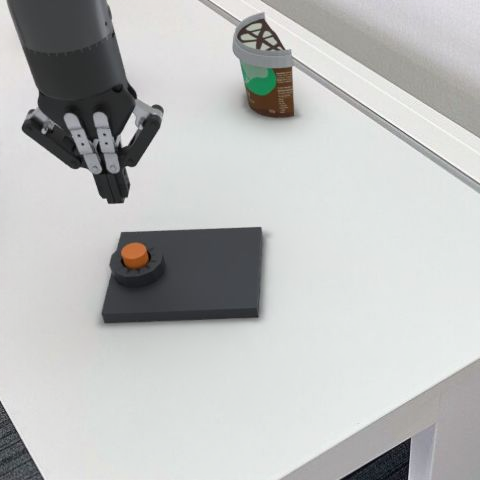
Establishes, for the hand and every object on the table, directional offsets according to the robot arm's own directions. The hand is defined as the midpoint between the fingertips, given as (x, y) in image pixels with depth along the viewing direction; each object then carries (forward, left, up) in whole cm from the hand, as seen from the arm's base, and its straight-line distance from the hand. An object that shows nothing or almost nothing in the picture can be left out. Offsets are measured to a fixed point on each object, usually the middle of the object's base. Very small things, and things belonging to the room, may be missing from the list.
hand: (118, 198), depth 75 cm
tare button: (0, 0, -9) cm, 8 cm away
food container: (+12, +35, -11) cm, 39 cm away
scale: (+5, 0, -11) cm, 12 cm away
